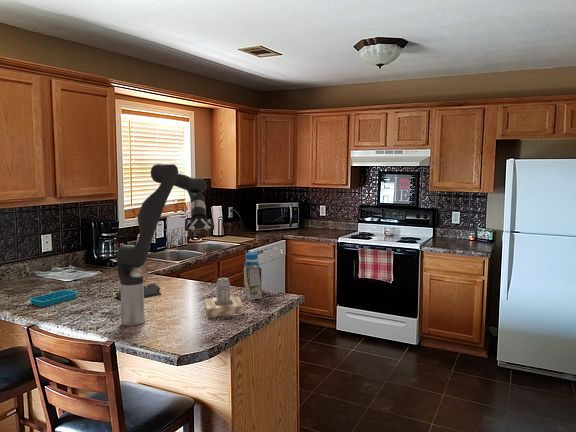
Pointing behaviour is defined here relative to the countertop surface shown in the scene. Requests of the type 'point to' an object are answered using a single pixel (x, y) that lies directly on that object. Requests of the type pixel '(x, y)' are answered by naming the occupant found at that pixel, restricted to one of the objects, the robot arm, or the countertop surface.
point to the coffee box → (253, 282)
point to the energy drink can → (223, 291)
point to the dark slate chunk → (147, 291)
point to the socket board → (223, 307)
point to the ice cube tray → (53, 297)
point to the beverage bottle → (250, 261)
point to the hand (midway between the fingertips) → (200, 236)
